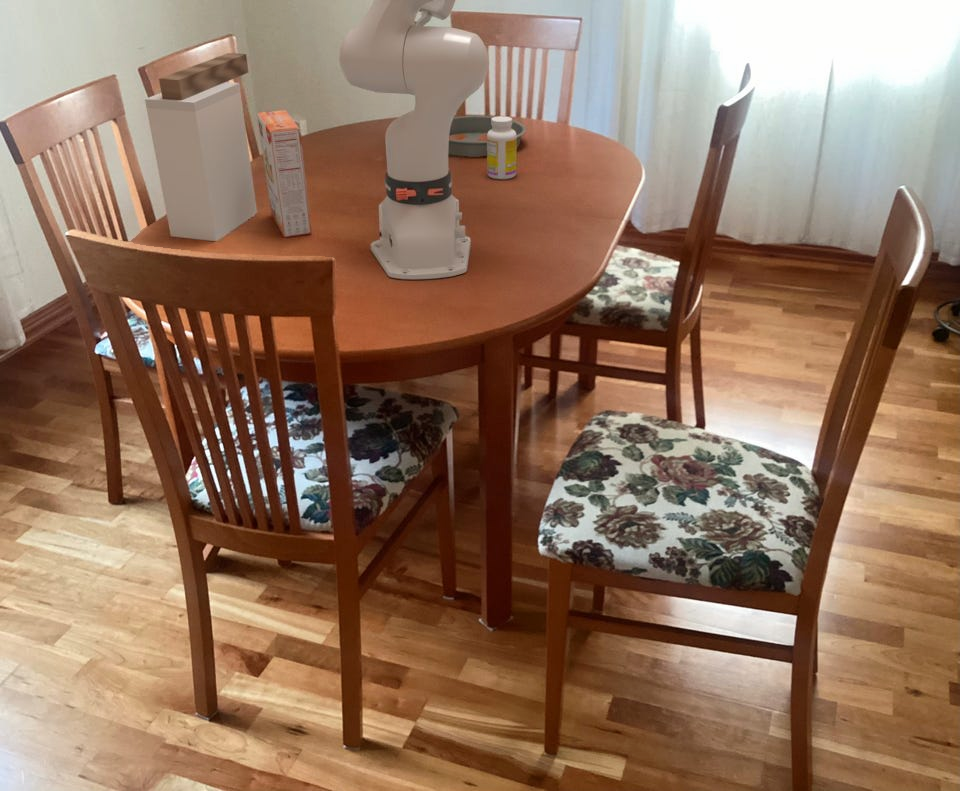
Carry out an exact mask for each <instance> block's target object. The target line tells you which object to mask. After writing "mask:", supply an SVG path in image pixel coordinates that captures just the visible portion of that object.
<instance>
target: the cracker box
mask: <svg viewBox="0 0 960 791" xmlns="http://www.w3.org/2000/svg"><path fill="white" fill-rule="evenodd" d="M257 121H258V129H259V136H260V142H261V148H262V150H261V151H262V156H263V164H264V170H265V177H266V184H267V191H268V198H269V204H270V211H271V212H270V213H271V215H272V217H273V220H274V221H275V223H276V225H277V227H278V229H279V231H280V232H281V234H282V236H283V238H291V236H292V237H297V236H298V237H299V236H303V235H304V236H305V235H311V234H312V233H313V230H312V223H311V222H312V221H311V215H310V206H309V205H310V204H309V200H308V199H309V198H308V190H307V188H308V187H307V181H306V180H307V179H306V172H305V163H304V154H303V146H302V144H303V143H302V138H301V128H300V127H299V126H298V125H297V123H296V122H295V121H294V120H293V118H292V117H291V115H290V114H289V113H288V111H287V110H286V109H283V110H275V111H273V110H271V111H262V112H258V113H257Z"/></svg>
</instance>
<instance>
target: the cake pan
mask: <svg viewBox="0 0 960 791" xmlns="http://www.w3.org/2000/svg"><path fill="white" fill-rule="evenodd" d="M493 117H494V115H493V116H490V115H465V116H464V115H462V116H454V118H453V121H452V124H451V128H450V134H449V136H452V135H458V134H463V135H466V136H469V137H467V138H464V139H462V140H455V139H449V150H448V155H452V156H456V155H457V157H464V156H468V157H467V158H481V157H480V156H487V141H477V140H478V139H479V138H481V137H483V136H479V135H482V134H484V133H488V132H489V131H490V130H491V129H492V125H491V119H492V118H493ZM511 129H513V130H514V131H515V132H516V135H517V147H518V148H519V147H520V143H521V139H522V136H523V135H524V134H525V133H526V132H527V128H526V126H525V125H524V124H523V123H521V122H520V121H516V120H513V119H512V126H511ZM454 137H455V136H454Z"/></svg>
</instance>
